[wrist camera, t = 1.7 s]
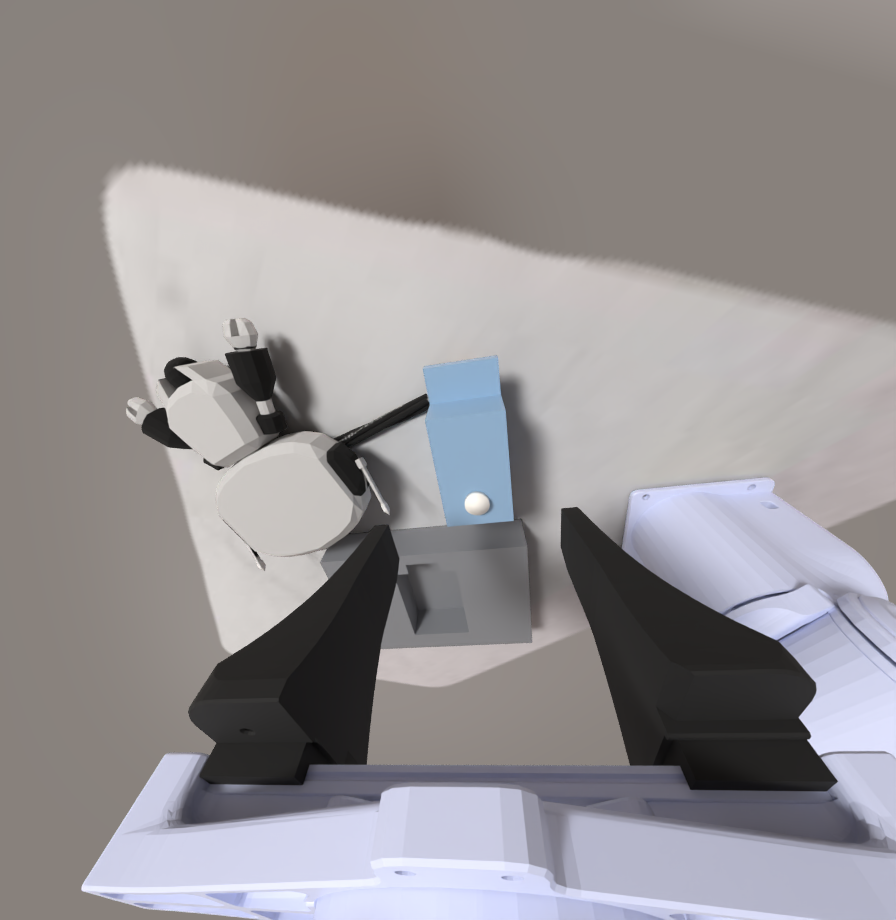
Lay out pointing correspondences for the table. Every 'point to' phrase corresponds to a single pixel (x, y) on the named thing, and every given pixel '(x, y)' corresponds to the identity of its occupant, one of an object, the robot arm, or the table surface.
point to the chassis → (454, 585)
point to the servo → (469, 441)
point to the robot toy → (258, 451)
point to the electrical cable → (386, 421)
